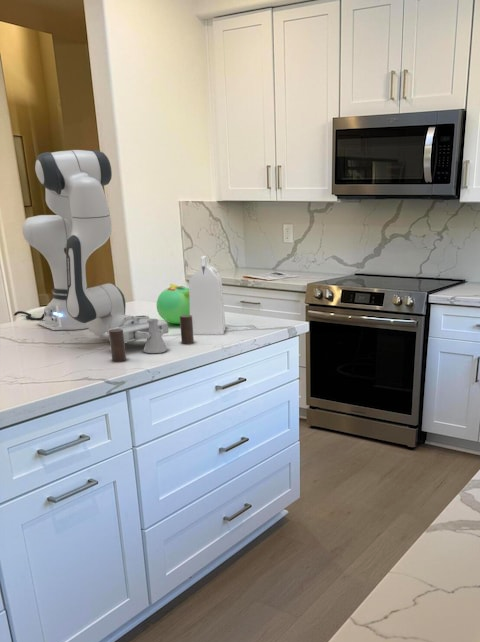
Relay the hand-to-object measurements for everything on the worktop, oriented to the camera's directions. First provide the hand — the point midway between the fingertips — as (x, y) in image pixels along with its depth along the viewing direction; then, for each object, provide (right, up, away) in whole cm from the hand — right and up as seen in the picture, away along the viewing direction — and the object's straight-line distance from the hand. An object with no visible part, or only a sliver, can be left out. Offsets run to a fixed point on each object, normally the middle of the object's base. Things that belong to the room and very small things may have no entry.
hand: (155, 334), depth 190 cm
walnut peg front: (-9, -9, -8) cm, 15 cm away
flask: (-1, -5, +2) cm, 6 cm away
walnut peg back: (+7, -1, +13) cm, 15 cm away
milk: (+10, +6, +31) cm, 34 cm away
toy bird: (-2, +11, +43) cm, 44 cm away
